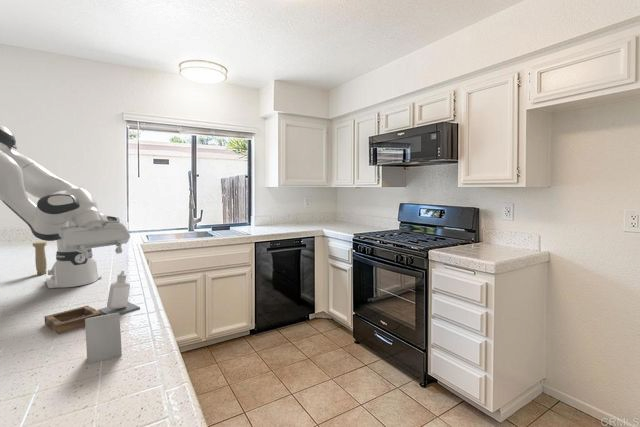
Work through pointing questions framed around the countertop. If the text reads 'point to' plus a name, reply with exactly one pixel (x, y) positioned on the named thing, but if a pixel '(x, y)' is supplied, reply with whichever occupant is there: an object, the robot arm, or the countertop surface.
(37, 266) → the handle
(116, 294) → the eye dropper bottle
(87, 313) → the block
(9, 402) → the countertop surface
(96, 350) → the white rectangular box
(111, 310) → the coaster
